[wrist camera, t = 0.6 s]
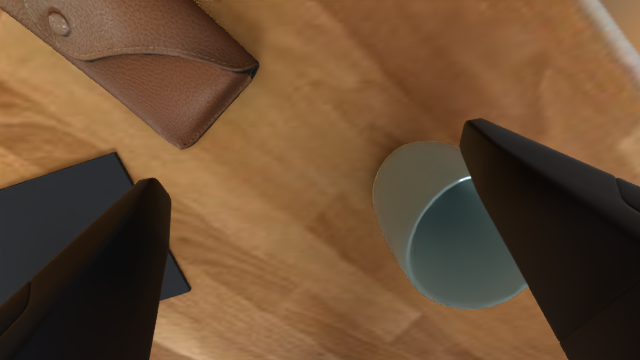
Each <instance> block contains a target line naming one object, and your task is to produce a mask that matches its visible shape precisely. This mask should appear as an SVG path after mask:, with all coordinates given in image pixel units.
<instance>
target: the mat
mask: <svg viewBox="0 0 640 360" xmlns="http://www.w3.org/2000/svg"><path fill="white" fill-rule="evenodd" d="M132 186H134V184H133V182H132V181H131V179H130V177H129V175H128V173H127V172H126V170H125V168H124V166H123V164H122V162H121V161H120V159H119V157H118V155H117V153H116V152H114V153H111V154H108V155H105V156H102V157H99V158H96V159H92V160H89V161H86V162H83V163H80V164H77V165H74V166H71V167H68V168H65V169H62V170H59V171H56V172H53V173H50V174H47V175H44V176H41V177H38V178H35V179H32V180H28V181H25V182H22V183H19V184H16V185H13V186H10V187H7V188H4V189H1V190H0V306H1V305H2V304H3V303H4V302H5V301H7V300H8V299H9V298H10V297H11V296H12V295H13V294H14V293H16V292H17V291H18V290H19V289H20V288H21V287H22V286H23V285H24V284H25V283H27V282H28V281H31V278H32V277H33V276H34V275H35V274H37V273H38V272H39V271H40V270H41V269H42V268H43V267H44V266H45V265H46V264H48V263H49V262H50V261H51V260H52V259H53V258H54V257H55V256H56V255H58V254H59V253H60V252H61V251H62V250H63V249H64V248H65V247H66V246H67V245H69V244H70V243H71V242H72V241H73V240H74V239H75V238H76V237H77V236H78V235H80V234H81V233H82V232H83V231H84V230H85V229H86V228H87V227H88V226H89V225H91V224H92V223H93V222H94V221H95V220H96V219H97V218H98V217H99V216H101V215H102V214H103V213H104V212H105V211H106V210H107V209H108V208H109V207H110V206H112V205H113V204H114V203H115V202H116V201H117V200H118V199H119V198H120V197H121V196H123V195H124V194H125V193H126V192H127V191H128V190H129V189H130V188H131V187H132ZM190 290H191V288H190V286H189V285H188V283H187V281H186V279H185V277H184V275H183V274H182V272H181V270H180V268H179V266H178V265H177V263H176V261H175V259H174V257H173V255H172V254H171V252H170V250H168V256H167V262H166V268H165V273H164V279H163V285H162V290H161V296H160V301H161V300H164V299H167V298H171V297H174V296H177V295H180V294H183V293H187V292H190Z"/></svg>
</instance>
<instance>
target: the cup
mask: <svg viewBox="0 0 640 360" xmlns="http://www.w3.org/2000/svg"><path fill="white" fill-rule="evenodd" d="M372 202H373V209H374V213H375V216H376V219H377V222H378V225H379V228H380V230H381V232H382V234H383V237H384V239H385V241H386V242H387V244H388V246H389V248H390V250H391V252H392V254H393V256H394V257H395V259H396V261H397V263H398V265H399V266H400V268H401V270H402V271H403V273H404V274H405V276H406V277H407V279H408V280H409V282H410V283H411V285H412V286H413V287H414V288H416V289H417V290H418V291H419V292H420V293H421V294H422V295H423V296H425V297H427V298H429V299H430V300H432V301H434V302H436V303H439V304H442V305H445V306H448V307H453V308H459V309H481V308H488V307H492V306H495V305H498V304H501V303H504V302H506V301H507V300H509V299H511V298H513V297H515V296H516V295H518V294H519V293H520V292H522V291H523V290H524V289H526V288H527V287H528V285H527V283H526V281H525V279H524V278H523V276H522V274H521V272H520V270H519V268H518V267H517V265H516V263H515V261H514V259H513V258H512V256H511V254H510V252H509V250H508V249H507V247H506V245H505V243H504V241H503V239H502V238H501V236H500V234H499V232H498V230H497V229H496V227H495V225H494V223H493V221H492V220H491V218H490V216H489V214H488V212H487V211H486V209H485V207H484V205H483V203H482V201H481V200H480V198H479V196H478V194H477V191H476V189H475V187H474V184H473V182H472V179H471V177H470V174H469V172H468V169H467V167H466V164H465V162H464V159H463V157H462V154H461V152H460V147H459V146H456V145H452V144H448V143H444V142H439V141H415V142H410V143H408V144H405V145H402V146H400V147H399V148H397V149H395V150H394V151H393V152H391V153H390V154H389V155H388V156H387V157H386V159H385V160H384V161H383V163H382V164H381V166H380V167H379V169H378V171H377V174H376V177H375V180H374V183H373V189H372Z"/></svg>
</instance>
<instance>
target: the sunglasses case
mask: <svg viewBox="0 0 640 360" xmlns="http://www.w3.org/2000/svg"><path fill="white" fill-rule="evenodd" d="M0 8H1V9H2V10H3V11H5V12H6V13H7V14H9V15H10V16H11V17H13V18H14V19H15V20H17V21H18V22H19V23H21V24H22V25H23V26H25V27H26V28H27V29H29V30H30V31H31V32H33V33H34V34H35V35H36V36H38V37H39V38H40V39H42V40H43V41H44V42H45V43H47V44H48V45H49V46H51V47H52V48H53V49H54V50H56V51H57V52H59V53H60V54H61V55H62V56H64V57H65V58H66V59H67V60H68V61H70V62H71V63H72V64H73V65H75V66H76V67H77V68H78V69H80V70H81V71H83V72H84V73H85V74H86V75H88V76H89V77H90V78H91V79H93V80H94V81H95V82H96V83H98V84H99V85H100V86H102V87H103V88H104V89H105V90H106V91H108V92H109V93H110V94H111V95H113V96H114V97H115V98H116V99H118V100H119V101H120V102H121V103H123V104H124V105H125V106H126V107H127V108H129V109H130V110H131V111H132V112H133V113H135V114H136V115H137V116H138V117H140V118H141V119H142V120H143V121H145V123H147V124H148V125H149V126H150V127H151V128H152V129H154V130H155V131H156V132H157V133H158V134H160V135H161V136H162V137H163V138H164V139H166V140H167V141H168V142H170V143H171V144H173V145H174V146H176V147H178V148H179V149H185V148H188V147H190V146H192V145H193V144H195V143H196V142H197V141H198V139H199V138H200V137H201V136H202V135H203V134H204V133H205V132H206V131H207V130H208V129H209V128H210V127H211V125H212V124H213V123H214V122H215V121H216V120H217V118H218V117H219V116H220V115H221V114H222V113H223V112H224V111H225V110H226V109H227V108H228V107H229V105H230V104H231V103H232V102H233V101H234V100H235V99H236V98H237V97H238V96H239V95H240V93H241V92H242V91H243V90H244V89H245V88H246V87H247V86H248V84H249V83H250V82H251V81H252V79H253V77H254V76H255V74H256V72H257V70H258V68H259V62H258V61H257V60H255V59H254V58H253V57H252V55H250V54H249V53H248V52H247V51H246V50H245V49H244V48H243V47H242V46H241V45H240V44H239V43H238V42H237V41H236V40H235V39H233V38H232V36H230V35H229V34H228V33H227V32H226V31H225V30H224V29H223V28H222V27H221V26H220V25H219V24H217V23H216V22H215V21H214V20H213V19H212V18H211V17H210V16H209V15H208V14H207V13H205V12H204V11H203V10H202V9H201V8H200V7H199V6H198V5H197V4H196V3H195V2H194V1H193V0H0Z"/></svg>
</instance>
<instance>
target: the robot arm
mask: <svg viewBox="0 0 640 360" xmlns="http://www.w3.org/2000/svg"><path fill="white" fill-rule="evenodd" d="M459 147H460V152H461V154H462V157H463V159H464V162H465V164H466V167H467V169H468V172H469V174H470V177H471V179H472V182H473V184H474V187H475V189H476V191H477V194H478V196H479V198H480V200H481V201H482V203H483V205H484V207H485V209H486V211H487V212H488V214H489V216H490V218H491V220H492V221H493V223H494V225H495V227H496V229H497V230H498V232H499V234H500V236H501V238H502V239H503V241H504V243H505V245H506V247H507V249H508V250H509V252H510V254H511V256H512V258H513V259H514V261H515V263H516V265H517V267H518V268H519V270H520V272H521V274H522V276H523V278H524V279H525V281H526V283H527V285H528V287H529V288H530V290H531V292H532V294H533V296H534V297H535V299H536V301H537V303H538V305H539V307H540V308H541V310H542V312H543V314H544V316H545V317H546V319H547V321H548V323H549V325H550V326H551V328H552V330H553V332H554V334H555V336H556V337H557V339H558V341H560V345H561V347H562V349H563V350H564V352H565V354H566V356H567V358H568V360H640V187H639V186H637V185H634V184H632V183H630V182H627V181H625V180H623V179H621V178H615V176H613V175H611V174H609V173H607V172H604V171H602V170H600V169H597V168H595V167H593V166H590V165H588V164H586V163H583V162H581V161H579V160H577V159H574V158H572V157H570V156H567V155H565V154H563V153H560V152H558V151H556V150H553V149H551V148H549V147H547V146H544V145H542V144H540V143H537V142H535V141H533V140H530V139H528V138H526V137H524V136H521V135H519V134H517V133H514V132H512V131H510V130H507V129H505V128H503V127H500V126H498V125H496V124H494V123H491V122H489V121H487V120H484V119H481V118H478V119H473V120H468V121H466V122H465V124H464V126H463V131H462V135H461V139H460V144H459ZM170 220H171V198H170V196H169V194H168V193H167V192H166V190H165V189H164V188H163V186H162V185H161V183H160V182H159V181H158V180H157V179H156V178H147V179H142V180H139V181H138V182H137V183H136V184H135V185H134V186H132V187H131V188H130V189H129V190H128V191H127V192H126V193H125V194H124V195H123V196H121V197H120V198H119V199H118V200H117V201H116V202H115V203H114V204H113V205H112V206H110V207H109V208H108V209H107V210H106V211H105V212H104V213H103V214H102V215H101V216H99V217H98V218H97V219H96V220H95V221H94V222H93V223H92V224H91V225H89V226H88V227H87V228H86V229H85V230H84V231H83V232H82V233H81V234H80V235H78V236H77V237H76V238H75V239H74V240H73V241H72V242H71V243H70V244H69V245H67V246H66V247H65V248H64V249H63V250H62V251H61V252H60V253H59V254H58V255H56V256H55V257H54V258H53V259H52V260H51V261H50V262H49V263H48V264H46V265H45V266H44V267H43V268H42V269H41V270H40V271H39V272H38V273H37V274H35V275H34V276H33V277H32V278H31V281H28V282H27V283H25V284H24V285H23V286H22V287H21V288H20V289H19V290H18V291H17V292H16V293H14V294H13V295H12V296H11V297H10V298H9V299H8V300H7V301H5V302H4V303H3V304H2V305H1V306H0V360H149V358H150V352H151V347H152V341H153V335H154V330H155V324H156V318H157V313H158V307H159V302H160V296H161V290H162V285H163V279H164V273H165V268H166V262H167V256H168V250H169V239H170Z"/></svg>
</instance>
